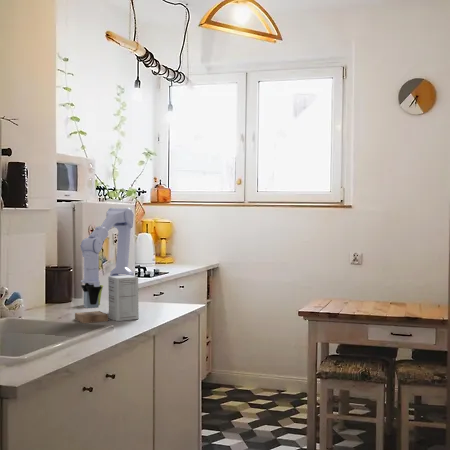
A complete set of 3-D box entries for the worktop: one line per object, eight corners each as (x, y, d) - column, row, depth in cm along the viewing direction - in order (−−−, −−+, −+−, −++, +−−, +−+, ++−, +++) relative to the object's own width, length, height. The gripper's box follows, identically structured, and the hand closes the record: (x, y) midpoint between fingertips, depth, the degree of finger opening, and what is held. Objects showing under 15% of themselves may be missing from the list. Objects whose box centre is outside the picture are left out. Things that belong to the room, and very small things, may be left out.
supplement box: (130, 316, 254) (130, 274, 254) (139, 319, 246) (139, 276, 246) (107, 318, 249) (107, 275, 249) (116, 321, 241) (116, 277, 241)
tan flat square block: (99, 318, 251) (99, 311, 251) (108, 322, 242) (108, 314, 242) (75, 320, 246) (74, 312, 246) (82, 324, 237) (82, 316, 237)
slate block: (94, 306, 247) (94, 291, 247) (98, 307, 243) (98, 292, 243) (83, 307, 245) (83, 291, 245) (87, 308, 241) (87, 292, 241)
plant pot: (82, 303, 290) (82, 285, 290) (103, 303, 292) (103, 284, 292) (82, 306, 281) (82, 287, 281) (104, 305, 283) (104, 286, 283)
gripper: (75, 267, 248) (75, 302, 248) (86, 270, 236) (87, 306, 236) (93, 267, 252) (93, 300, 252) (104, 269, 239) (105, 305, 239)
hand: (91, 303), depth 244 cm, fingers closed on slate block, 4 cm apart
